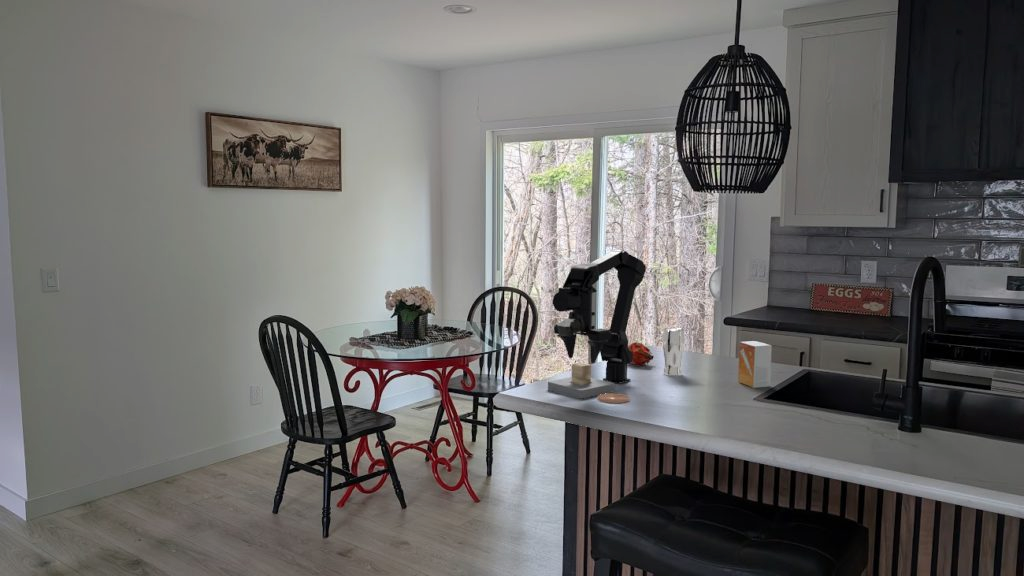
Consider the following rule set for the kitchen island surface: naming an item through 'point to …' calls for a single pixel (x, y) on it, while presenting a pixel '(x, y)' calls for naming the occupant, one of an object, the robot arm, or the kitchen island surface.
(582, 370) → the beech block
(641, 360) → the dragon fruit
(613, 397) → the coaster
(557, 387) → the pocket board
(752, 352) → the small box
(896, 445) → the kitchen island surface
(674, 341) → the beer glass
